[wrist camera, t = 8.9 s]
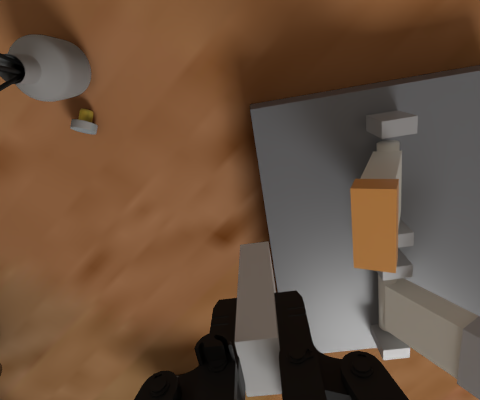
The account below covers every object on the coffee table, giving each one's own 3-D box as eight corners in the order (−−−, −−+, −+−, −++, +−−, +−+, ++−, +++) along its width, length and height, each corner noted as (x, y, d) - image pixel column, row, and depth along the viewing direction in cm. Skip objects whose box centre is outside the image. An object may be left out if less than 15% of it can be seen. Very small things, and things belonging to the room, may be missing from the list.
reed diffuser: (15, 24, 27) (-492, -73, 8) (89, -7, 26) (-303, -194, 8) (76, 140, 31) (-189, 251, 12) (142, 117, 30) (-34, 197, 11)
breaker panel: (283, 329, 38) (291, 383, 32) (249, 104, 29) (250, 115, 22) (459, 309, 37) (506, 362, 30) (484, 64, 27) (561, 62, 21)
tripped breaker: (373, 208, 28) (354, 271, 21) (372, 140, 26) (350, 183, 18) (404, 210, 27) (395, 277, 19) (406, 139, 25) (396, 184, 17)
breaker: (372, 326, 32) (479, 402, 24) (371, 275, 29) (488, 339, 21) (389, 315, 32) (497, 384, 24) (389, 264, 30) (508, 322, 22)
